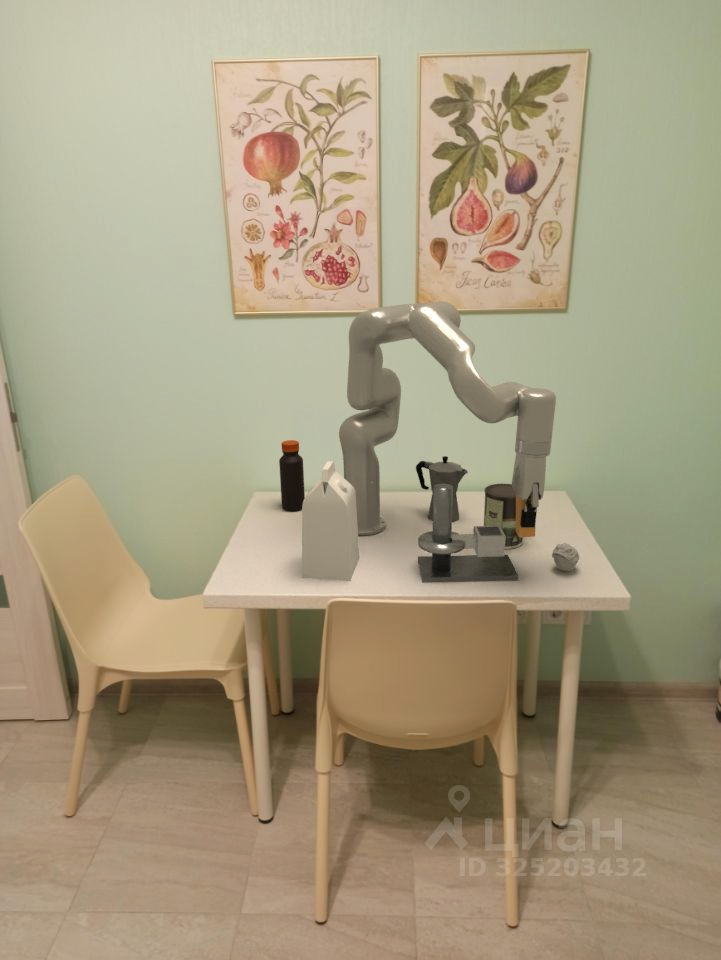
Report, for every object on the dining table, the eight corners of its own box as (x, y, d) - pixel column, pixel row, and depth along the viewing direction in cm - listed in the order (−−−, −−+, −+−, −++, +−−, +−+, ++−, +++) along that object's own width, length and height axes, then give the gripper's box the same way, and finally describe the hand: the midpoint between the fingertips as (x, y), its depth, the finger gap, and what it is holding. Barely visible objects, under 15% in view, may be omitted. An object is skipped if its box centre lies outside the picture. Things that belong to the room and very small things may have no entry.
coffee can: (525, 535, 179) (528, 485, 175) (519, 551, 170) (523, 499, 165) (486, 530, 183) (488, 481, 178) (478, 546, 174) (481, 494, 169)
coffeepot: (471, 516, 192) (474, 455, 186) (458, 527, 185) (460, 464, 179) (422, 506, 200) (423, 447, 194) (408, 517, 192) (408, 456, 186)
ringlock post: (420, 582, 156) (421, 496, 149) (415, 561, 166) (416, 479, 159) (518, 580, 156) (524, 494, 149) (507, 558, 167) (512, 477, 159)
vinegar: (295, 513, 196) (292, 447, 189) (277, 509, 199) (273, 443, 193) (309, 506, 201) (306, 441, 195) (291, 502, 205) (288, 438, 198)
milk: (314, 555, 170) (309, 456, 161) (359, 558, 168) (357, 458, 160) (301, 577, 159) (296, 472, 150) (350, 581, 157) (347, 474, 148)
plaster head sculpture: (544, 571, 160) (547, 544, 158) (560, 561, 165) (562, 535, 163) (568, 579, 156) (571, 552, 154) (583, 569, 161) (586, 542, 158)
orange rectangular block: (519, 537, 154) (519, 492, 150) (515, 530, 157) (515, 486, 153) (535, 536, 154) (536, 491, 150) (531, 529, 157) (531, 485, 153)
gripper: (507, 434, 156) (501, 508, 162) (525, 458, 140) (517, 538, 147) (540, 434, 156) (532, 508, 162) (561, 458, 140) (551, 538, 147)
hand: (525, 522), depth 155 cm, fingers closed on orange rectangular block, 3 cm apart
